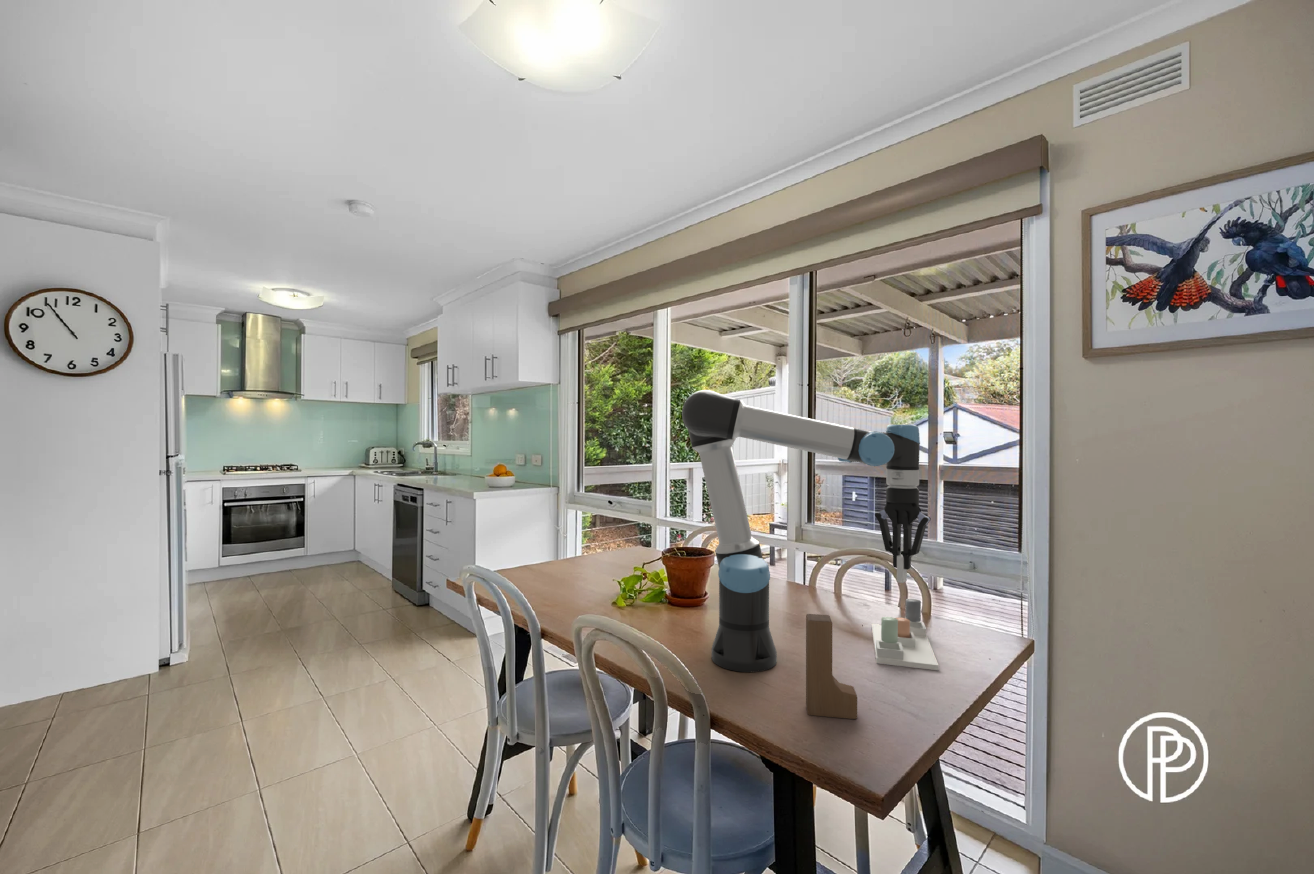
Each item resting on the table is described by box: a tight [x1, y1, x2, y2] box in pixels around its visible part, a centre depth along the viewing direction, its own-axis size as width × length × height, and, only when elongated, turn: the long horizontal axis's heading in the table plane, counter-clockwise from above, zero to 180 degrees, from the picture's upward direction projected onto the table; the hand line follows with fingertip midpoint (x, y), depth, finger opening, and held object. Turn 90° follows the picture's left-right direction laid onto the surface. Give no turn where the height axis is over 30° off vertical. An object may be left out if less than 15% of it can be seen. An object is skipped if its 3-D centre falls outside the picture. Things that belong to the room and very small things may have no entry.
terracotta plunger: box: [895, 617, 910, 638], centre depth 142 cm, size 4×4×5 cm
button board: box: [871, 621, 940, 671], centre depth 142 cm, size 13×25×3 cm, turn 162°
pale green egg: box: [880, 616, 898, 643], centre depth 134 cm, size 4×4×5 cm
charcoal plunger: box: [905, 598, 922, 622], centre depth 149 cm, size 4×4×5 cm
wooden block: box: [805, 613, 858, 720], centre depth 109 cm, size 9×4×18 cm, turn 80°
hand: (901, 581), depth 142 cm, fingers closed
